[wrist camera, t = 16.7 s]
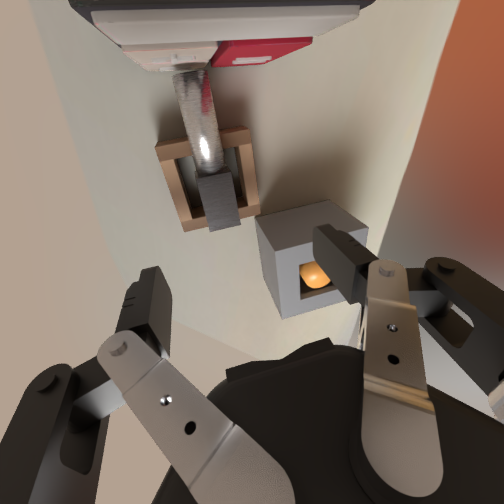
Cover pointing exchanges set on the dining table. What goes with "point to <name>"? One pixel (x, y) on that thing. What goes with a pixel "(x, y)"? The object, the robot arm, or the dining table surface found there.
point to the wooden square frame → (167, 158)
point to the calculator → (214, 28)
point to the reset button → (313, 275)
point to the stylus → (207, 149)
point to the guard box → (300, 254)
